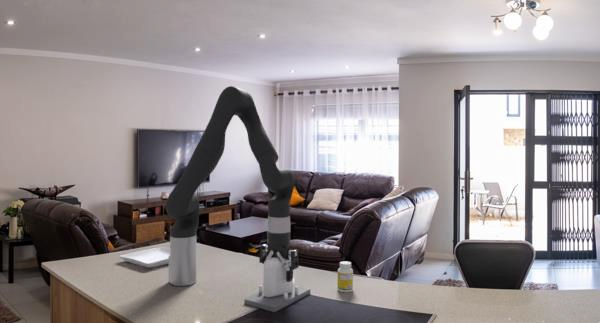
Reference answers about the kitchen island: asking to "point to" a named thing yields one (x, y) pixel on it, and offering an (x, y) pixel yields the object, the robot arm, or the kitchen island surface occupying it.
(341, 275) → the supplement bottle
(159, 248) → the salad plate
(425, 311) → the kitchen island surface
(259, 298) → the pin tray
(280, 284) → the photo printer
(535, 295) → the kitchen island surface
